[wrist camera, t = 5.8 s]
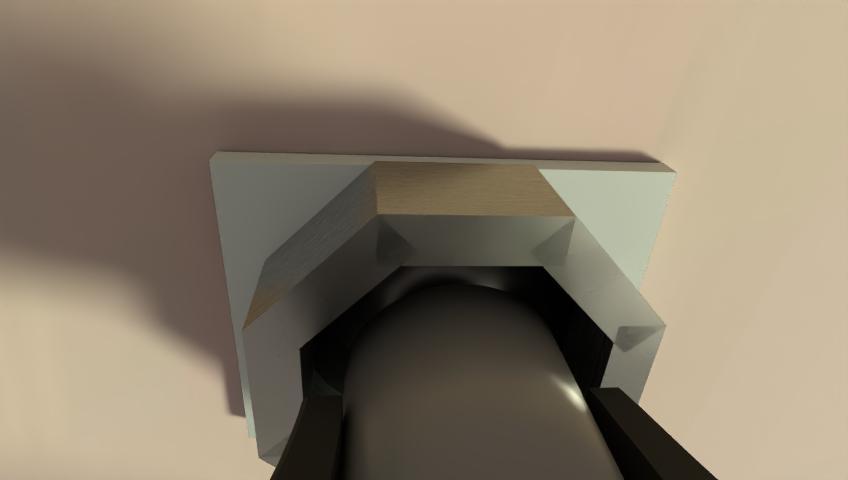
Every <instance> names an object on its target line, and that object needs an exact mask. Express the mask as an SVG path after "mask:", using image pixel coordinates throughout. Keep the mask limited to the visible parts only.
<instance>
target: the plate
mask: <svg viewBox="0 0 848 480" xmlns="http://www.w3.org/2000/svg"><path fill="white" fill-rule="evenodd" d="M374 161H406V162H446V163H486V164H526V165H535V166H536V167H537V169H538V170H539V171H540V172H541V173H542V175H543V176H544V177H545V178H546V180H547V181H548V182H549V183H550V184H551V186H552V187H553V188H554V189H555V190H556V192H557V193H558V194H559V195H560V196H561V198H562V199H563V200H564V201H565V203H566V204H567V205H568V206H569V207H570V209H571V210H572V211H573V212H574V213H575V215H576V216H577V217H578V218H579V219H580V221H581V222H582V223H583V224H584V226H585V227H586V228H587V229H588V230H589V232H590V233H591V234H592V235H593V236H594V238H595V239H596V240H597V241H598V242H599V244H600V245H601V246H602V247H603V249H604V250H605V251H606V252H607V253H608V255H609V256H610V257H611V258H612V259H613V261H614V262H615V263H616V264H617V265H618V267H619V268H620V269H621V270H622V272H623V273H624V274H625V275H626V277H627V278H628V279H629V280H630V281H631V283H632V284H633V285H634V286H635V288H636V289H637V290H638V291H639V290H640V287H641V283H642V280H643V277H644V274H645V271H646V268H647V265H648V262H649V258H650V255H651V252H652V249H653V246H654V243H655V240H656V236H657V233H658V230H659V227H660V224H661V221H662V218H663V215H664V211H665V208H666V205H667V202H668V199H669V196H670V193H671V189H672V186H673V183H674V180H675V177H676V174H677V172H675V171H674V170H673V169H671V168H670V167H668V166H667V165H665V164H664V163H644V162H606V161H567V160H529V159H491V158H453V157H414V156H376V155H338V154H300V153H262V152H223V151H216V152H215V154H214V155H213V156H212V158H211V159H210V160H209V166H210V173H211V180H212V187H213V194H214V201H215V208H216V215H217V221H218V228H219V235H220V242H221V249H222V256H223V263H224V270H225V277H226V283H227V290H228V297H229V304H230V311H231V318H232V325H233V332H234V338H235V345H236V352H237V359H238V366H239V373H240V380H241V387H242V394H243V400H244V407H245V414H246V421H247V428H248V435H249V438H256V433H255V426H254V419H253V411H252V404H251V397H250V389H249V382H248V374H247V367H246V360H245V352H244V345H243V338H242V329H243V326H244V323H245V320H246V317H247V314H248V311H249V308H250V305H251V301H252V298H253V295H254V292H255V289H256V286H257V283H258V280H259V277H260V274H261V271H262V268H263V265H264V262H265V260H266V259H267V258H268V257H269V256H270V255H271V254H272V253H273V252H275V251H276V250H277V249H278V248H279V247H280V246H281V245H282V244H283V243H285V242H286V241H287V240H288V239H289V238H290V237H291V236H292V235H293V234H294V233H296V232H297V231H298V230H299V229H300V228H301V227H302V226H303V225H304V224H306V223H307V222H308V221H309V220H310V219H311V218H312V217H313V216H314V215H315V214H317V213H318V212H319V211H320V210H321V209H322V208H323V207H324V206H325V205H327V204H328V203H329V202H330V201H331V200H332V199H333V198H334V197H335V196H336V195H338V194H339V193H340V192H341V191H342V190H343V189H344V188H345V187H346V186H348V185H349V184H350V183H351V182H352V181H353V180H354V179H355V178H356V177H357V176H359V175H360V174H361V173H362V172H363V171H364V170H365V169H366V168H367V167H369V166H370V165H371V164H372V163H373V162H374Z"/></svg>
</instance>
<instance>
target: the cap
mask: <svg viewBox="0 0 848 480" xmlns="http://www.w3.org/2000/svg"><path fill="white" fill-rule="evenodd" d="M340 480H624V478H623V476H622V474H621V472H620V470H619V468H618V466H617V464H616V462H615V460H614V458H613V456H612V454H611V452H610V450H609V448H608V446H607V444H606V442H605V440H604V438H603V436H602V434H601V432H600V430H599V428H598V426H597V424H596V421H595V419H594V417H593V415H592V413H591V411H590V409H589V407H588V405H587V403H586V401H585V399H584V397H583V395H582V393H581V391H580V389H579V387H578V385H577V383H576V381H575V379H574V377H573V375H572V373H571V371H570V369H569V367H568V365H567V363H566V361H565V359H564V357H563V355H562V353H561V351H560V349H559V347H558V345H557V343H556V340H555V338H554V336H553V334H552V332H551V330H550V328H549V327H548V325H547V323H546V322H545V320H544V319H543V317H542V316H541V315H540V314H539V313H538V312H537V311H536V310H535V309H534V308H533V307H532V306H530V305H529V304H528V303H527V302H525V301H524V300H522V299H520V298H519V297H517V296H515V295H513V294H510V293H508V292H506V291H503V290H500V289H496V288H493V287H488V286H482V285H476V284H452V285H442V286H437V287H431V288H427V289H424V290H421V291H417V292H414V293H412V294H409V295H407V296H405V297H402V298H400V299H398V300H397V301H395V302H393V303H391V304H389V305H388V306H386V307H385V308H384V309H382V310H381V311H380V312H378V313H377V314H376V315H375V316H374V317H372V318H371V319H370V320H369V321H368V322H367V323H366V324H365V326H364V327H363V328H362V329H361V330H360V332H359V333H358V335H357V336H356V338H355V339H354V341H353V343H352V345H351V347H350V350H349V352H348V355H347V359H346V363H345V375H344V396H343V429H342V451H341V470H340Z"/></svg>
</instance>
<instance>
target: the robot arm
mask: <svg viewBox="0 0 848 480" xmlns="http://www.w3.org/2000/svg"><path fill="white" fill-rule="evenodd" d="M585 401H586V403H587V405H588V407H589V409H590V411H591V413H592V415H593V417H594V419H595V421H596V424H597V426H598V428H599V430H600V432H601V434H602V436H603V438H604V440H605V442H606V444H607V446H608V448H609V450H610V452H611V454H612V456H613V458H614V460H615V462H616V464H617V466H618V468H619V470H620V472H621V474H622V476H623V478H624V480H718V479H717V478H715V477H714V476H713V475H712V474H711V473H710V472H709V471H708V470H707V469H706V468H704V467H703V466H702V465H701V464H700V463H699V462H698V461H697V460H696V459H695V458H694V457H693V456H691V455H690V454H689V453H688V452H687V451H686V450H685V449H684V448H683V447H682V446H681V445H680V444H679V443H678V442H677V441H675V440H674V439H673V438H672V437H671V436H670V435H669V434H668V433H667V432H666V431H665V430H664V429H663V428H662V427H661V426H660V425H659V424H658V423H656V422H655V421H654V420H653V419H652V418H651V417H650V416H649V415H648V414H647V413H646V412H645V411H644V410H643V409H642V408H641V407H640V406H639V405H638V404H637V403H635V402H634V401H633V400H632V399H631V398H630V397H629V396H628V395H627V394H626V393H625V392H624V391H622V390H621V389H620V388H619V387H609V388H588V392H587V395H586V399H585ZM342 429H343V399H342V395H328V396H308V397H307V398H305V399H304V400H303V401H302V403H301V407H300V410H299V413H298V416H297V419H296V421H295V424H294V427H293V429H292V432H291V435H290V437H289V439H288V442H287V444H286V446H285V449H284V451H283V453H282V455H281V458H280V460H279V462H278V464H277V466H276V469H275V471H274V473H273V475H272V477H271V479H270V480H340V470H341V451H342Z"/></svg>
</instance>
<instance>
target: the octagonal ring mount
mask: <svg viewBox="0 0 848 480" xmlns="http://www.w3.org/2000/svg"><path fill="white" fill-rule="evenodd" d="M452 284H476V285H482V286H488V287H493V288H496V289H500V290H503V291H506V292H508V293H510V294H513V295H515V296H517V297H519V298H520V299H522V300H524V301H525V302H527V303H528V304H529V305H530V306H532V307H533V308H534V309H535V310H536V311H537V312H538V313H539V314H540V315H541V316H542V317H543V319H544V320H545V322H546V323H547V325H548V327H549V328H550V330H551V332H552V334H553V336H554V338H555V340H556V343H557V345H558V347H559V349H560V351H561V353H562V355H563V357H564V359H565V361H566V363H567V365H568V367H569V369H570V371H571V373H572V375H573V377H574V379H575V381H576V383H577V385H578V387H579V389H580V391H581V393H582V395H583V397H584V399H586V395H587V392H588V388H609V387H619V388H620V389H621V390H622V391H624V392H625V393H626V394H627V395H628V396H629V397H630V398H631V399H632V400H633V401H634V402H635V403H637V404H638V403H639V400H640V397H641V394H642V392H643V389H644V386H645V383H646V381H647V378H648V375H649V372H650V370H651V367H652V364H653V361H654V359H655V356H656V353H657V350H658V348H659V345H660V342H661V339H662V337H663V334H664V331H665V328H666V325H665V323H664V322H663V321H662V320H661V318H660V317H659V316H658V315H657V314H656V312H655V311H654V310H653V309H652V307H651V306H650V305H649V304H648V302H647V301H646V300H645V299H644V297H643V296H642V295H641V294H640V293H639V291H638V290H637V289H636V288H635V286H634V285H633V284H632V283H631V281H630V280H629V279H628V278H627V277H626V275H625V274H624V273H623V272H622V270H621V269H620V268H619V267H618V265H617V264H616V263H615V262H614V261H613V259H612V258H611V257H610V256H609V255H608V253H607V252H606V251H605V250H604V249H603V247H602V246H601V245H600V244H599V242H598V241H597V240H596V239H595V238H594V236H593V235H592V234H591V233H590V232H589V230H588V229H587V228H586V227H585V226H584V224H583V223H582V222H581V221H580V219H579V218H578V217H577V216H576V215H575V213H574V212H573V211H572V210H571V209H570V207H569V206H568V205H567V204H566V203H565V201H564V200H563V199H562V198H561V196H560V195H559V194H558V193H557V192H556V190H555V189H554V188H553V187H552V186H551V184H550V183H549V182H548V181H547V180H546V178H545V177H544V176H543V175H542V173H541V172H540V171H539V170H538V169H537V167H536V166H535V165H526V164H486V163H446V162H406V161H374V162H373V163H372V164H371V165H370V166H369V167H367V168H366V169H365V170H364V171H363V172H362V173H361V174H360V175H359V176H357V177H356V178H355V179H354V180H353V181H352V182H351V183H350V184H349V185H348V186H346V187H345V188H344V189H343V190H342V191H341V192H340V193H339V194H338V195H336V196H335V197H334V198H333V199H332V200H331V201H330V202H329V203H328V204H327V205H325V206H324V207H323V208H322V209H321V210H320V211H319V212H318V213H317V214H315V215H314V216H313V217H312V218H311V219H310V220H309V221H308V222H307V223H306V224H304V225H303V226H302V227H301V228H300V229H299V230H298V231H297V232H296V233H294V234H293V235H292V236H291V237H290V238H289V239H288V240H287V241H286V242H285V243H283V244H282V245H281V246H280V247H279V248H278V249H277V250H276V251H275V252H273V253H272V254H271V255H270V256H269V257H268V258H267V259H266V260H265V262H264V265H263V268H262V271H261V274H260V277H259V280H258V283H257V286H256V289H255V292H254V295H253V298H252V301H251V305H250V308H249V311H248V314H247V317H246V320H245V323H244V326H243V329H242V338H243V345H244V352H245V360H246V367H247V374H248V382H249V389H250V397H251V404H252V411H253V419H254V426H255V433H256V441H257V448H258V456H259V458H260V459H262V460H263V461H265V462H267V463H269V464H271V465H272V466H274V467H276V466H277V464H278V462H279V460H280V458H281V455H282V453H283V451H284V449H285V446H286V444H287V442H288V439H289V437H290V435H291V432H292V429H293V427H294V424H295V421H296V419H297V416H298V413H299V410H300V407H301V403H302V401H303V400H304V399H305V398H307V397H308V396H328V395H342V399H343V396H344V375H345V363H346V359H347V355H348V352H349V350H350V347H351V345H352V343H353V341H354V339H355V338H356V336H357V335H358V333H359V332H360V330H361V329H362V328H363V327H364V326H365V324H366V323H367V322H368V321H369V320H370V319H371V318H372V317H374V316H375V315H376V314H377V313H378V312H380V311H381V310H382V309H384V308H385V307H386V306H388V305H389V304H391V303H393V302H395V301H397V300H398V299H400V298H402V297H405V296H407V295H409V294H412V293H414V292H417V291H421V290H424V289H427V288H431V287H437V286H442V285H452Z"/></svg>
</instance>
